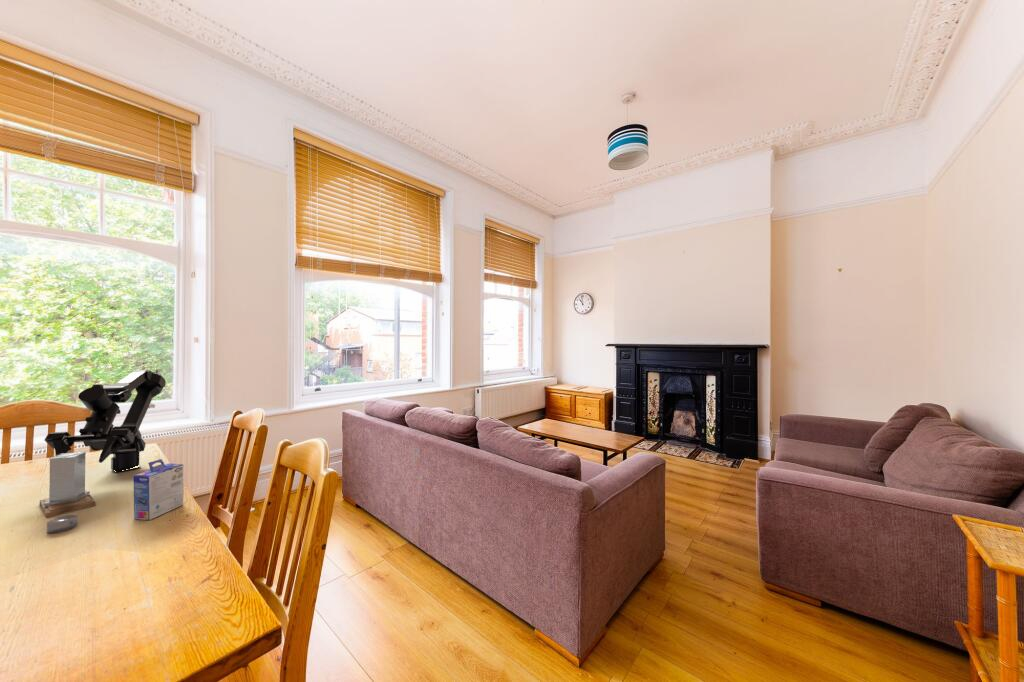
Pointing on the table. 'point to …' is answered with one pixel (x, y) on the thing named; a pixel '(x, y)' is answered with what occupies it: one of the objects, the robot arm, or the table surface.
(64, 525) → the grey rounded block
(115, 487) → the table surface
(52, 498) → the block
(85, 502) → the stand
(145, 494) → the ink cartridge box
